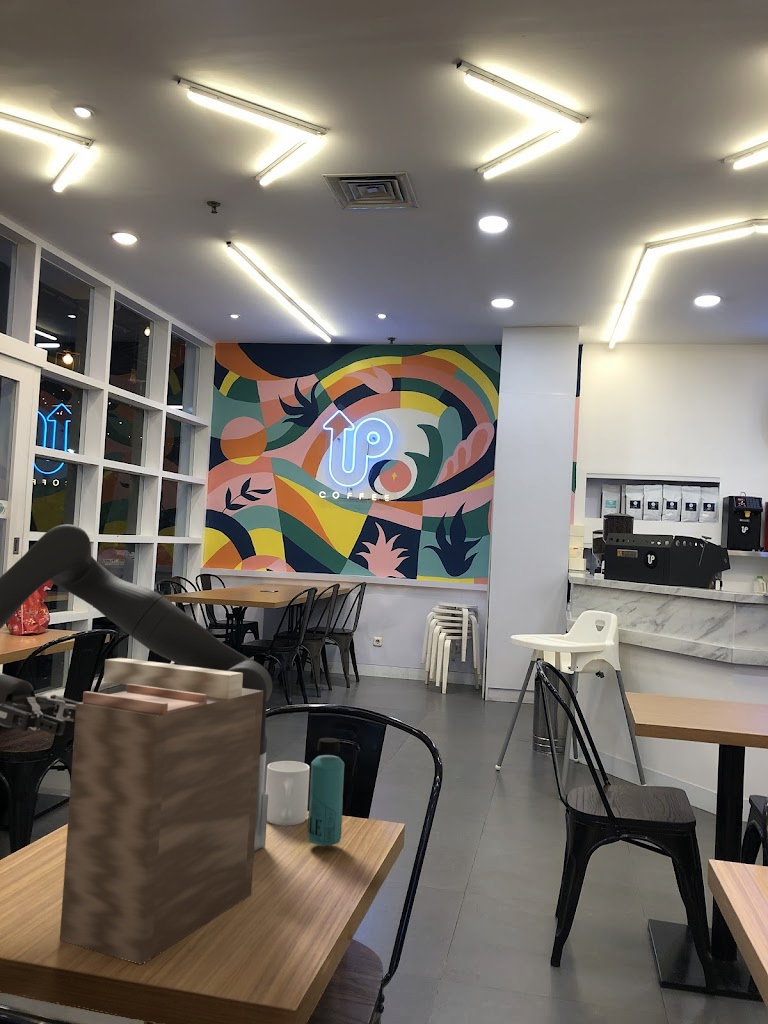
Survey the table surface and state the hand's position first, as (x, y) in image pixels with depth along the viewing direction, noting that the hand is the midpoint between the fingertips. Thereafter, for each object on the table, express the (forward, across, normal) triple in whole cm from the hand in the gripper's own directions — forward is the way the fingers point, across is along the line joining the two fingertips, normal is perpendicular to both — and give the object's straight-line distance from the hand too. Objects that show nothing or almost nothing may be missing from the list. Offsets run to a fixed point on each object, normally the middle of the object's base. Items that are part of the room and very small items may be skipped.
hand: (80, 724), depth 130 cm
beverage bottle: (+34, +35, +19) cm, 53 cm away
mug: (+22, +46, +21) cm, 55 cm away
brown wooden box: (+21, -1, +22) cm, 31 cm away
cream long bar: (+12, +4, -8) cm, 15 cm away
